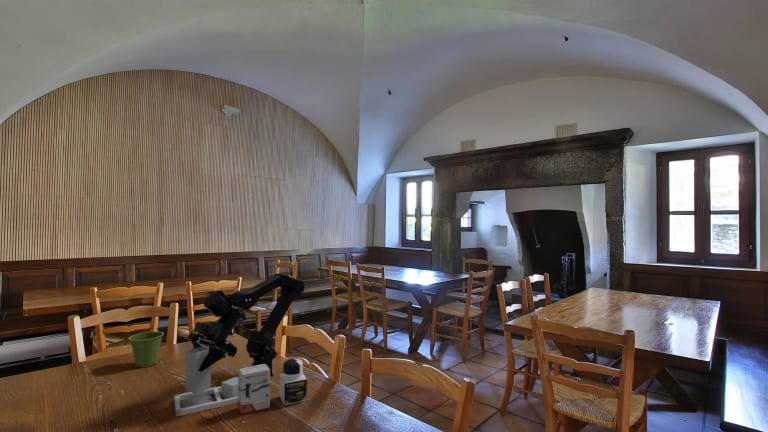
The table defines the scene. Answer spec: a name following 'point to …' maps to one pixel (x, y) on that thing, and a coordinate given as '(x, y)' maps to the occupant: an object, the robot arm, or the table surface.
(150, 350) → the plant pot
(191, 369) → the block
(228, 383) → the small box
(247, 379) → the ink box
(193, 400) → the frame
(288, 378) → the medicine bottle
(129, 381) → the table surface
